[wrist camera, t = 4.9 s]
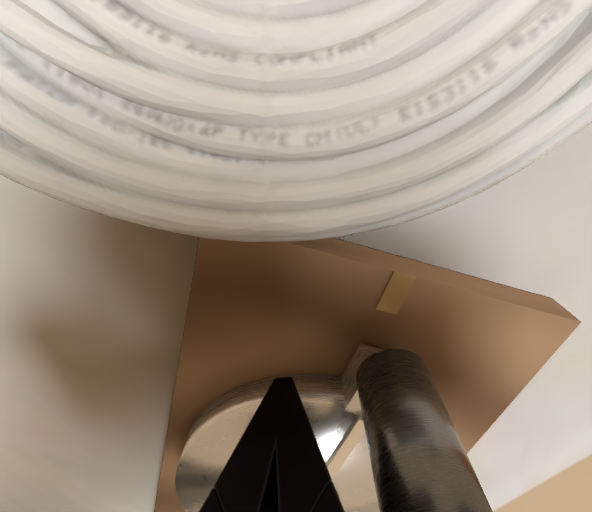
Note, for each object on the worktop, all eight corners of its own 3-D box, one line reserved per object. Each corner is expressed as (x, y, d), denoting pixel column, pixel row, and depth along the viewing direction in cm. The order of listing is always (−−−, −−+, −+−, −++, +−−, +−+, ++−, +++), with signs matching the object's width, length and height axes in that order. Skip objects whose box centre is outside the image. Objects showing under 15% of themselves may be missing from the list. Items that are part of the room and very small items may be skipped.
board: (358, 547, 23) (361, 577, 21) (159, 512, 21) (148, 542, 20) (552, 298, 13) (583, 323, 12) (214, 204, 12) (201, 220, 10)
